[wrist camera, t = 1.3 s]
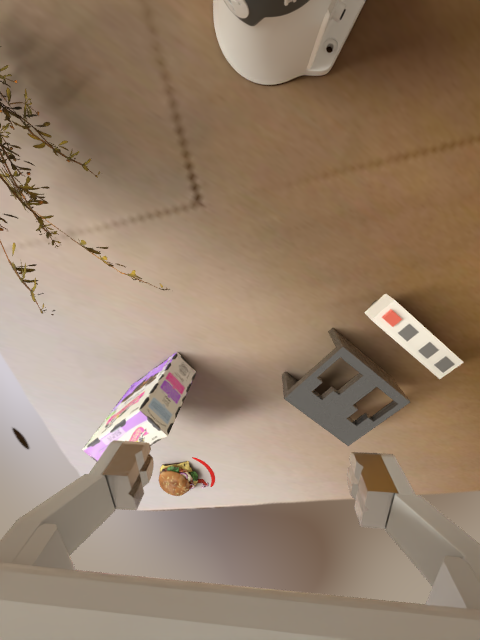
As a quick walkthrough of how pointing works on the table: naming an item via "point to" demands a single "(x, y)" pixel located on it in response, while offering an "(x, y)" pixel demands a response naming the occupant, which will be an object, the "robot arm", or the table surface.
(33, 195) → the dried plant
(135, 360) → the table surface
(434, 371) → the power strip
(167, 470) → the hamburger
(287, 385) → the grey stepped cutout plate
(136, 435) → the candy box
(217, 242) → the table surface
